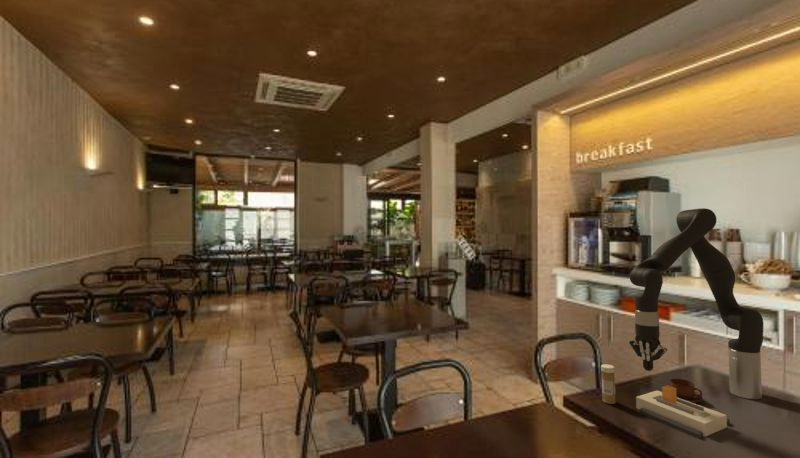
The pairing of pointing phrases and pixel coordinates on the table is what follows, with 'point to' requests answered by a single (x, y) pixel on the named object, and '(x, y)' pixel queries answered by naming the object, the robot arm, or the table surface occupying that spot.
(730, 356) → the robot arm
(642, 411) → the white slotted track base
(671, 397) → the breaker toggle
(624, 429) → the table surface
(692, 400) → the cup and saucer
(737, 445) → the table surface
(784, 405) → the table surface
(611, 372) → the sprinkles bottle
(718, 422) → the slider base
